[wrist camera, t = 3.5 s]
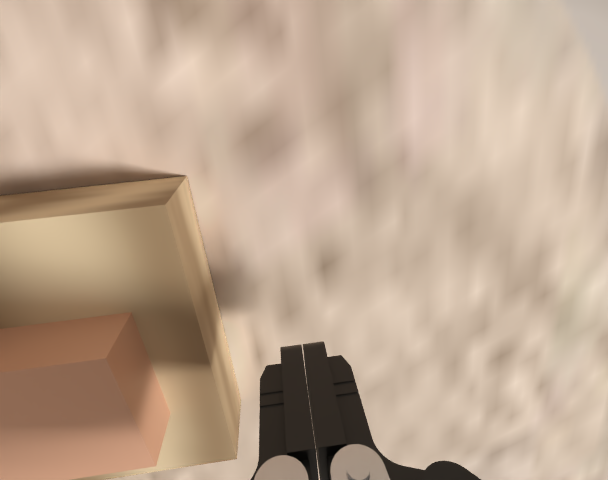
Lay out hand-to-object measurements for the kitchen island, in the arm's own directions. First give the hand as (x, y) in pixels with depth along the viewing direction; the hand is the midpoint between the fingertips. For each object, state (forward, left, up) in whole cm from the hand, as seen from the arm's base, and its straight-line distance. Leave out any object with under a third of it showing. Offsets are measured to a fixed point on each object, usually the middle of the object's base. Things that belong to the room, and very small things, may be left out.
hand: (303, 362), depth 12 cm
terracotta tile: (+8, 0, -1) cm, 8 cm away
